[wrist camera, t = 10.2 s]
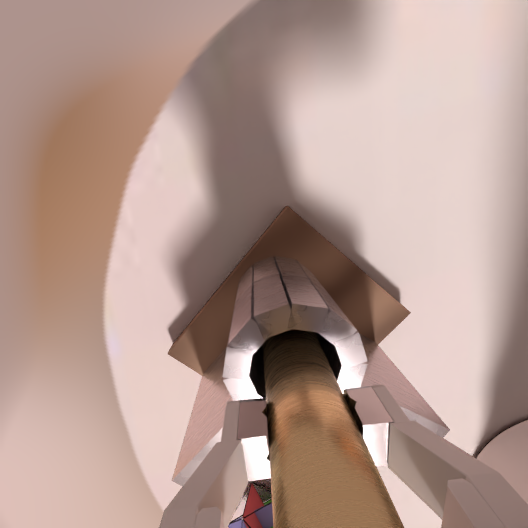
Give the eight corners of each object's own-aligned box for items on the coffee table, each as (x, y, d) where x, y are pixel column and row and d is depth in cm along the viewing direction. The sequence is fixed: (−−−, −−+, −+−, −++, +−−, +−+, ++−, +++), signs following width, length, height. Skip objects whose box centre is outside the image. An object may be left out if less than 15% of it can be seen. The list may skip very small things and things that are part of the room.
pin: (325, 335, 14) (698, 1039, 2) (291, 371, 14) (448, 1092, 3) (286, 305, 13) (508, 1035, 2) (251, 343, 14) (238, 1105, 2)
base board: (400, 305, 22) (410, 312, 21) (287, 417, 25) (289, 430, 24) (285, 205, 20) (288, 206, 18) (173, 343, 22) (167, 353, 21)
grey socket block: (386, 332, 21) (477, 425, 13) (288, 427, 24) (308, 561, 15) (272, 240, 19) (288, 275, 10) (175, 356, 21) (120, 466, 12)
